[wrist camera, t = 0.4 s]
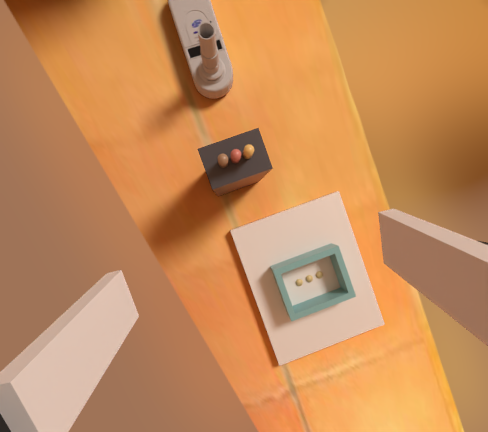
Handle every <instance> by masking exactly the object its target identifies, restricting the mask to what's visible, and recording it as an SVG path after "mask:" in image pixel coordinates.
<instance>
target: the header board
mask: <svg viewBox="0 0 488 432" xmlns="http://www.w3.org/2000/svg"><path fill="white" fill-rule="evenodd" d="M230 231H231V234H232V237H233V240H234V242H235V245H236V248H237V251H238V253H239V256H240V259H241V262H242V264H243V267H244V270H245V273H246V275H247V278H248V281H249V284H250V286H251V289H252V292H253V295H254V297H255V300H256V303H257V306H258V308H259V311H260V314H261V317H262V319H263V322H264V325H265V327H266V330H267V333H268V336H269V338H270V341H271V344H272V347H273V349H274V352H275V355H276V358H277V360H278V363H279V366H280V365H283V364H285V363H288V362H290V361H293V360H296V359H298V358H301V357H303V356H306V355H308V354H311V353H313V352H316V351H318V350H321V349H323V348H326V347H328V346H331V345H334V344H336V343H339V342H341V341H344V340H346V339H349V338H351V337H354V336H356V335H359V334H361V333H364V332H366V331H369V330H372V329H374V328H377V327H379V326H382V325H384V321H383V318H382V315H381V312H380V309H379V306H378V303H377V300H376V297H375V295H374V292H373V289H372V286H371V283H370V280H369V277H368V274H367V271H366V268H365V266H364V263H363V260H362V257H361V254H360V251H359V248H358V245H357V242H356V239H355V236H354V234H353V231H352V228H351V225H350V222H349V219H348V216H347V213H346V210H345V207H344V205H343V202H342V199H341V196H340V193H339V191H337V192H334V193H331V194H328V195H325V196H323V197H320V198H317V199H314V200H312V201H309V202H306V203H304V204H301V205H298V206H295V207H293V208H290V209H287V210H284V211H282V212H279V213H276V214H273V215H271V216H268V217H265V218H262V219H260V220H257V221H254V222H251V223H249V224H246V225H243V226H241V227H238V228H235V229H232V230H230Z"/></svg>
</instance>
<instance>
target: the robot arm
mask: <svg viewBox="0 0 488 432" xmlns="http://www.w3.org/2000/svg"><path fill="white" fill-rule="evenodd" d="M378 214H379V223H380V232H381V241H382V251H383V260H384V264H385V265H387V266H388V267H389V268H390V269H392V270H393V271H394V272H396V273H397V274H398V275H399V276H401V277H402V278H403V279H404V280H406V281H407V282H408V283H409V284H411V285H412V286H413V287H414V288H416V289H417V290H418V291H419V292H421V293H422V294H423V295H424V296H426V297H427V298H428V299H429V300H431V301H432V302H433V303H435V304H436V305H437V306H438V307H439V308H441V309H442V310H443V311H444V312H446V313H447V314H449V315H450V316H451V317H452V318H453V319H454V320H456V321H457V322H458V323H460V324H461V325H462V326H463V327H464V328H466V329H467V330H468V331H470V332H471V333H472V334H473V335H475V336H476V337H477V338H478V339H480V340H481V341H482V342H483V343H485V344H486V345H487V346H488V243H486V242H481V241H475V240H473V239H471V238H468V237H465V236H463V235H460V234H458V233H455V232H453V231H450V230H447V229H445V228H442V227H440V226H437V225H435V224H432V223H429V222H427V221H424V220H421V219H419V218H416V217H414V216H411V215H409V214H406V213H404V212H401V211H399V210H396V209H391V210H386V211H382V212H378ZM138 316H139V315H138V312H137V310H136V307H135V304H134V302H133V300H132V297H131V294H130V292H129V289H128V286H127V284H126V281H125V278H124V276H123V273H122V271H121V270H119V271H114V272H110V273H107V274H106V275H105V276H103V277H102V278H101V279H100V280H99V281H98V282H97V283H96V284H95V285H94V286H93V287H92V288H91V289H89V290H88V291H87V292H86V293H85V294H84V295H83V296H82V297H81V298H80V299H79V300H78V301H77V302H75V303H74V304H73V305H72V306H71V307H70V308H69V309H68V310H67V311H66V312H65V313H64V314H62V315H61V316H60V317H59V318H58V319H57V320H56V321H55V322H54V323H53V324H52V325H51V326H50V327H49V328H48V329H46V330H45V331H44V332H43V333H42V334H41V335H40V336H39V337H38V338H37V339H36V340H34V341H33V342H32V343H31V344H30V345H29V346H28V347H27V348H26V349H25V350H24V351H23V352H22V353H20V354H19V355H18V356H17V357H16V358H15V359H14V360H13V361H12V362H11V363H10V364H9V365H8V366H6V367H5V368H4V369H3V370H2V371H1V372H0V432H68V431H69V429H70V428H71V426H72V425H73V423H74V422H75V420H76V418H77V417H78V415H79V413H80V412H81V410H82V408H83V407H84V405H85V404H86V402H87V400H88V399H89V397H90V395H91V394H92V392H93V390H94V389H95V387H96V385H97V384H98V382H99V380H100V379H101V377H102V376H103V374H104V372H105V371H106V369H107V367H108V366H109V364H110V363H111V361H112V359H113V357H114V356H115V354H116V353H117V351H118V349H119V348H120V346H121V345H122V343H123V341H124V340H125V338H126V336H127V335H128V333H129V331H130V330H131V328H132V326H133V325H134V323H135V322H136V320H137V318H138Z"/></svg>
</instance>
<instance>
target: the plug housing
mask: <svg viewBox="0 0 488 432" xmlns="http://www.w3.org/2000/svg"><path fill="white" fill-rule="evenodd" d="M198 151H199V154H200V157H201V160H202V162H203V165H204V168H205V171H206V173H207V176H208V179H209V181H210V184H211V187H212V190H213V191H214V192H215V193H216V195H217V196H221V195H224V194H226V193H229V192H232V191H235V190H237V189H240V188H243V187H246V186H249V185H251V184H254V183H257V182H259V181H260V180H261V179H262V178H263V177H264V176H265V175H266V174H267V173H268V172H269V171H270V170H271V169H272V165H271V162H270V160H269V157H268V154H267V151H266V148H265V145H264V143H263V140H262V137H261V134H260V131H259V129H258V128H257V129H254V130H251V131H248V132H245V133H242V134H239V135H237V136H234V137H231V138H228V139H225V140H222V141H219V142H216V143H213V144H211V145H208V146H205V147H202V148H199V149H198Z"/></svg>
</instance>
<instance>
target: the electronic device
mask: <svg viewBox="0 0 488 432" xmlns="http://www.w3.org/2000/svg"><path fill="white" fill-rule="evenodd" d="M168 4H169V8H170V11H171V14H172V17H173V20H174V23H175V27H176V30H177V33H178V36H179V39H180V42H181V45H182V48H183V51H184V54H185V57H186V60H187V63H188V66H189V69H190V72H191V75H192V78H193V81H194V84H195V86H196V88H197V90H198V92H199V93H201V94H202V95H203V96H205V97H207V98H220V97H223V96H224V95H225V94H227V93H228V92H229V90H230V89H231V87H232V83H233V70H232V65H231V62H230V59H229V56H228V53H227V50H226V47H225V43H224V40H223V37H222V34H221V31H220V28H219V25H218V22H217V19H216V16H215V13H214V10H213V7H212V4H211V1H210V0H168Z"/></svg>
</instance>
